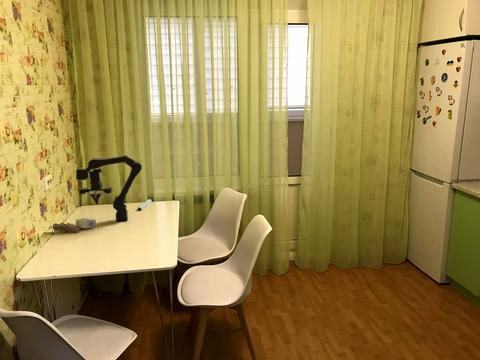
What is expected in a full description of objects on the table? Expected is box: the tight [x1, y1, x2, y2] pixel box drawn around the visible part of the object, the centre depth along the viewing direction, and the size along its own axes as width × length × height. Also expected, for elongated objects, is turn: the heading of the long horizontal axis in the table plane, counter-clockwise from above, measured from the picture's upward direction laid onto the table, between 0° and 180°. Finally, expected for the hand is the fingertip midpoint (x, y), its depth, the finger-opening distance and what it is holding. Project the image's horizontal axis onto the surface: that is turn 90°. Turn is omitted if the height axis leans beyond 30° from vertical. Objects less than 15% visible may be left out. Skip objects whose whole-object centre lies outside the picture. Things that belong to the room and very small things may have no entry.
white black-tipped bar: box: [136, 198, 153, 212], centre depth 279 cm, size 23×7×3 cm, turn 175°
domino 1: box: [65, 222, 82, 233], centre depth 228 cm, size 2×5×8 cm
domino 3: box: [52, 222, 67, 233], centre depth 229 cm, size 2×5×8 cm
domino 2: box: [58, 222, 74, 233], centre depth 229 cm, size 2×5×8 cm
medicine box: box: [75, 217, 97, 229], centre depth 235 cm, size 8×4×9 cm
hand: (97, 204), depth 242 cm, fingers closed
